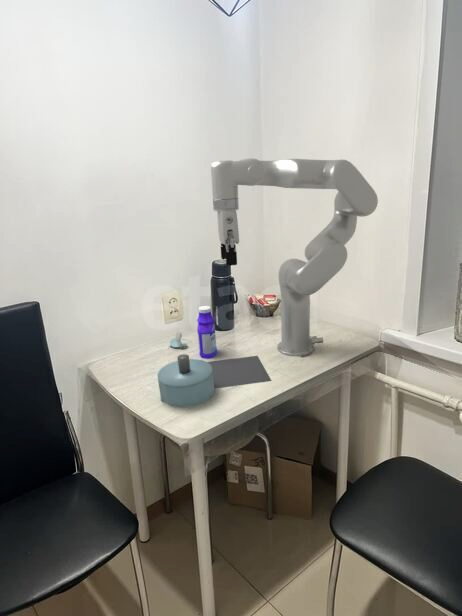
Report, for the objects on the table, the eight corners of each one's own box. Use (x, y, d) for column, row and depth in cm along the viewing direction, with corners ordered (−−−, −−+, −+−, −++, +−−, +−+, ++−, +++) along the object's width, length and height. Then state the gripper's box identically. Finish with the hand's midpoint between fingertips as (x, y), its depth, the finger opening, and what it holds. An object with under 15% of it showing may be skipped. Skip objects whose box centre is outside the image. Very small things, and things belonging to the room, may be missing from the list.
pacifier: (175, 354, 145) (189, 348, 148) (173, 337, 143) (187, 332, 146) (164, 348, 150) (178, 342, 154) (162, 332, 148) (176, 327, 152)
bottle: (213, 360, 138) (210, 311, 133) (197, 359, 139) (193, 310, 134) (218, 351, 145) (215, 304, 139) (203, 350, 146) (199, 303, 140)
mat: (257, 356, 139) (257, 355, 139) (271, 381, 122) (271, 380, 122) (204, 363, 136) (204, 362, 136) (211, 390, 119) (211, 388, 119)
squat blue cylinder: (210, 376, 127) (207, 342, 123) (217, 402, 112) (214, 364, 108) (160, 383, 124) (155, 349, 121) (161, 411, 110) (155, 373, 106)
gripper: (244, 206, 114) (246, 266, 119) (233, 202, 130) (235, 255, 136) (217, 208, 113) (221, 269, 118) (209, 203, 129) (213, 257, 135)
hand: (228, 261), depth 127 cm, fingers open, 9 cm apart
